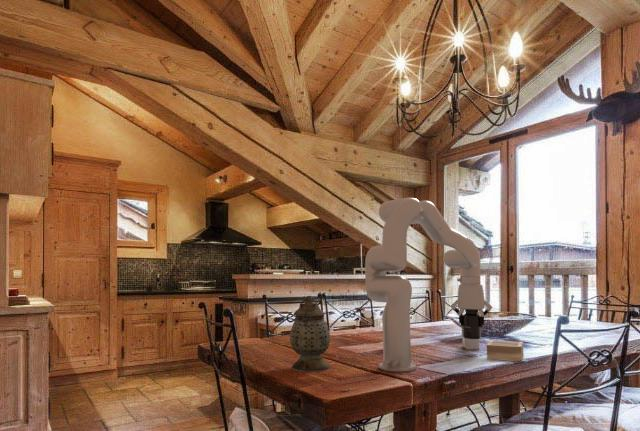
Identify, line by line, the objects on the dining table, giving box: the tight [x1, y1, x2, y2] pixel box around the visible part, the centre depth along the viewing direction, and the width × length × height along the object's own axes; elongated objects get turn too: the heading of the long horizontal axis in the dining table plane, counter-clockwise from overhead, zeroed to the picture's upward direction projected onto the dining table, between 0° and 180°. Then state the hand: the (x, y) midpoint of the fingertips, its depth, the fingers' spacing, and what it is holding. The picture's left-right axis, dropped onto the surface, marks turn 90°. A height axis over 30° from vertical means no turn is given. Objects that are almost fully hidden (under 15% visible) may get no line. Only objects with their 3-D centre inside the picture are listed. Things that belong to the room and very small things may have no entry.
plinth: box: [486, 340, 525, 362], centre depth 181 cm, size 12×12×5 cm
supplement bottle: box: [463, 309, 482, 340], centre depth 190 cm, size 7×7×12 cm
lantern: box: [289, 295, 331, 373], centre depth 167 cm, size 14×14×25 cm
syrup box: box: [461, 312, 480, 350], centre depth 202 cm, size 6×6×14 cm
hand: (471, 325), depth 190 cm, fingers closed on supplement bottle, 6 cm apart
